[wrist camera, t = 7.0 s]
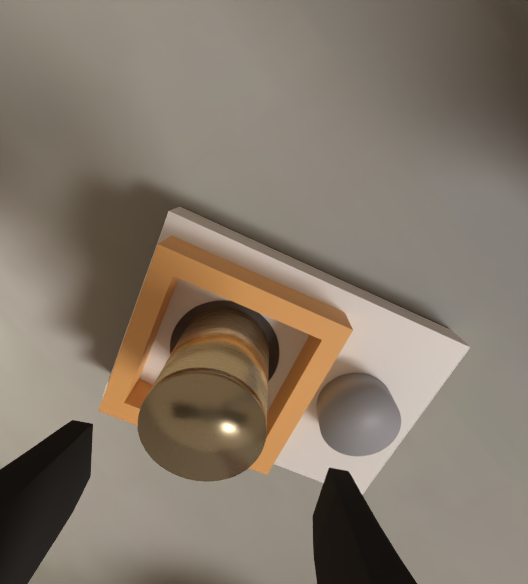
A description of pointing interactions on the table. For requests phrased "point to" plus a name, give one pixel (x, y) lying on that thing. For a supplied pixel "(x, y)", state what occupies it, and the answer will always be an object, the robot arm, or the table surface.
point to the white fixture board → (290, 348)
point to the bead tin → (210, 399)
